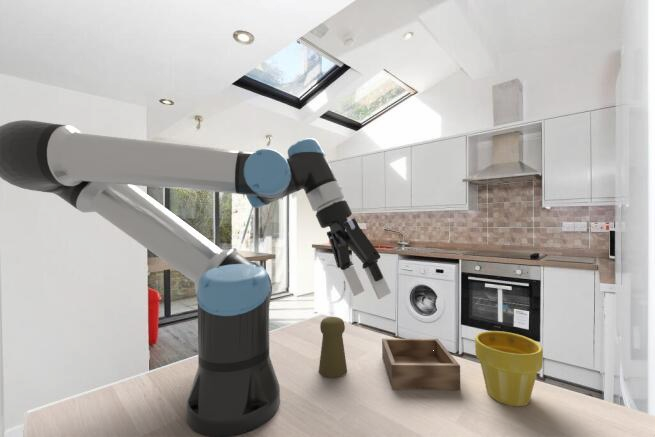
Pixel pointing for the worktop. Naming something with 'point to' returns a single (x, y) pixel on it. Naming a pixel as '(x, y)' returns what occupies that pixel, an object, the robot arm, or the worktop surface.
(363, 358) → the worktop surface
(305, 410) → the worktop surface
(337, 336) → the cork
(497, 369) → the plant pot
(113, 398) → the worktop surface
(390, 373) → the walnut crate
